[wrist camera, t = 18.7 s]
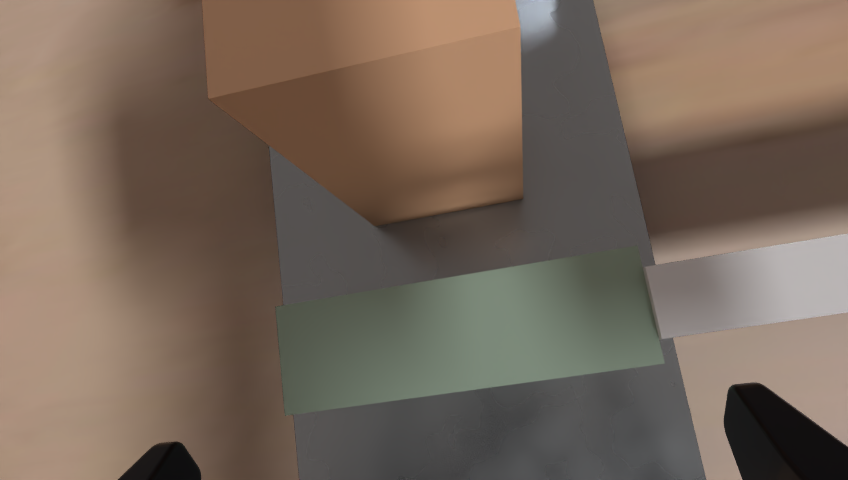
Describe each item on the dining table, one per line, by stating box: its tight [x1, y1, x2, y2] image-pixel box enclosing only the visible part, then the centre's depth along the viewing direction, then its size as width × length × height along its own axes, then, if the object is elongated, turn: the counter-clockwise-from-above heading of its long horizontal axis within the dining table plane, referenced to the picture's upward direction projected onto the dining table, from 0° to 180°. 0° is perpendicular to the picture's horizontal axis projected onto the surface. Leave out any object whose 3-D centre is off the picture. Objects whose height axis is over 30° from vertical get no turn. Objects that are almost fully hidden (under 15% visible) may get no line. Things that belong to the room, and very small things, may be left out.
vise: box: [269, 0, 706, 480], centre depth 18 cm, size 22×12×4 cm, turn 8°
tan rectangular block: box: [202, 0, 523, 226], centre depth 14 cm, size 5×5×10 cm
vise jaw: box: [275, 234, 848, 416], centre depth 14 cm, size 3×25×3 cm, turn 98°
